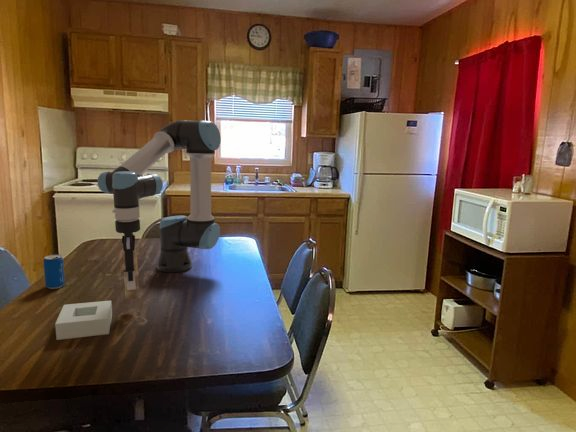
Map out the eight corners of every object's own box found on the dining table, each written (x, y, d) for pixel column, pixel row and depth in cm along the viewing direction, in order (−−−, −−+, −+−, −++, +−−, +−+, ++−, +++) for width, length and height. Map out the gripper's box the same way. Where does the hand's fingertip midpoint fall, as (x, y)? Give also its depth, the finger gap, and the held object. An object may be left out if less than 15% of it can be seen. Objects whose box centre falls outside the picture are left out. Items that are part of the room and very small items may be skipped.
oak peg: (139, 293, 144) (136, 249, 141) (139, 298, 140) (136, 253, 137) (125, 294, 143) (122, 250, 139) (125, 299, 139) (122, 254, 135)
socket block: (112, 314, 138) (111, 300, 137) (108, 333, 125) (108, 318, 124) (65, 319, 134) (63, 304, 133) (56, 339, 121) (55, 323, 120)
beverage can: (56, 290, 157) (54, 260, 154) (41, 288, 158) (39, 258, 155) (68, 284, 163) (66, 255, 160) (54, 282, 164) (51, 253, 162)
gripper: (116, 214, 142) (121, 278, 148) (113, 226, 126) (118, 297, 131) (139, 213, 145) (143, 276, 150) (139, 225, 129) (143, 295, 134)
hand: (131, 286), depth 141 cm, fingers closed on oak peg, 4 cm apart
